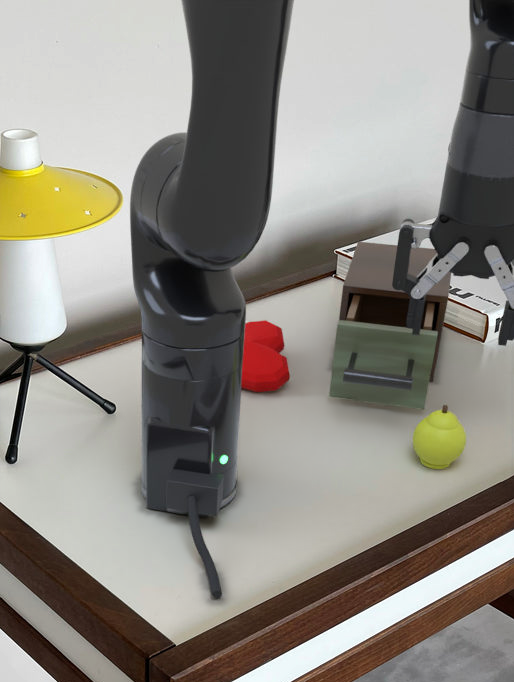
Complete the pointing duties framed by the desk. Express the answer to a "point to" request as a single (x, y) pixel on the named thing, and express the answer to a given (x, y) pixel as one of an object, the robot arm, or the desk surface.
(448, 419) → the pear
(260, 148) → the robot arm
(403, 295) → the cabinet
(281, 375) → the heart
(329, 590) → the desk surface
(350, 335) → the drawer
